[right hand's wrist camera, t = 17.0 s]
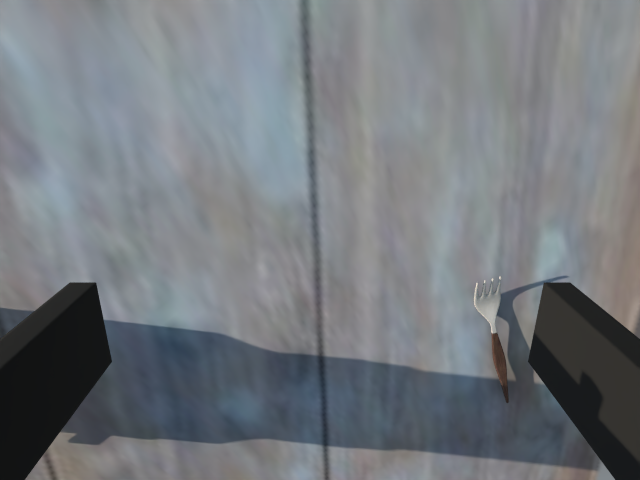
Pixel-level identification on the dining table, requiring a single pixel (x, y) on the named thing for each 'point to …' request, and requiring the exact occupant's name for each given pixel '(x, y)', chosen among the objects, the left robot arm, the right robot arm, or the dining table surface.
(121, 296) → the dining table surface
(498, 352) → the fork
